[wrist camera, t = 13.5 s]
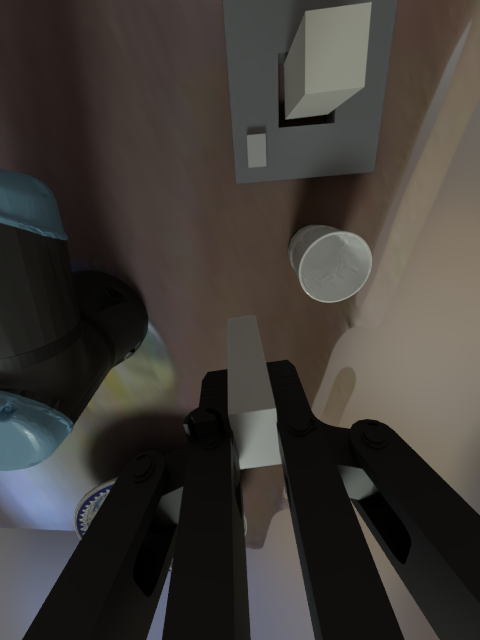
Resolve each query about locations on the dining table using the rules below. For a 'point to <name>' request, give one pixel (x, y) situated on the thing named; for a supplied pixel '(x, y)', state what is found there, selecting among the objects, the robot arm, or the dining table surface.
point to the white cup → (329, 262)
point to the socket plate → (262, 94)
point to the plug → (326, 60)
